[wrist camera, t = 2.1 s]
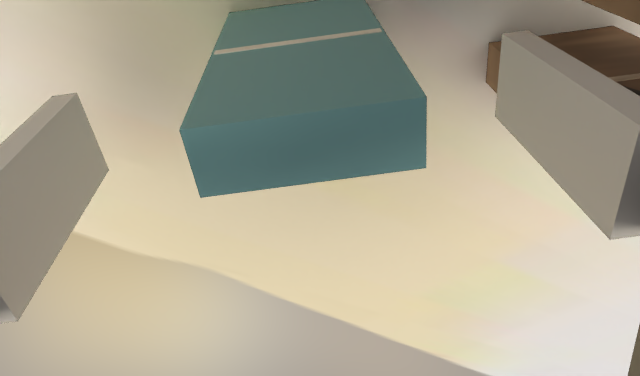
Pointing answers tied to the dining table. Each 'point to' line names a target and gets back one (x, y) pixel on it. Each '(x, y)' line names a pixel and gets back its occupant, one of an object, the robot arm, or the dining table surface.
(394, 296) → the dining table surface
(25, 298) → the robot arm
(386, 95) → the domino
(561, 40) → the domino
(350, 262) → the dining table surface
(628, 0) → the domino
